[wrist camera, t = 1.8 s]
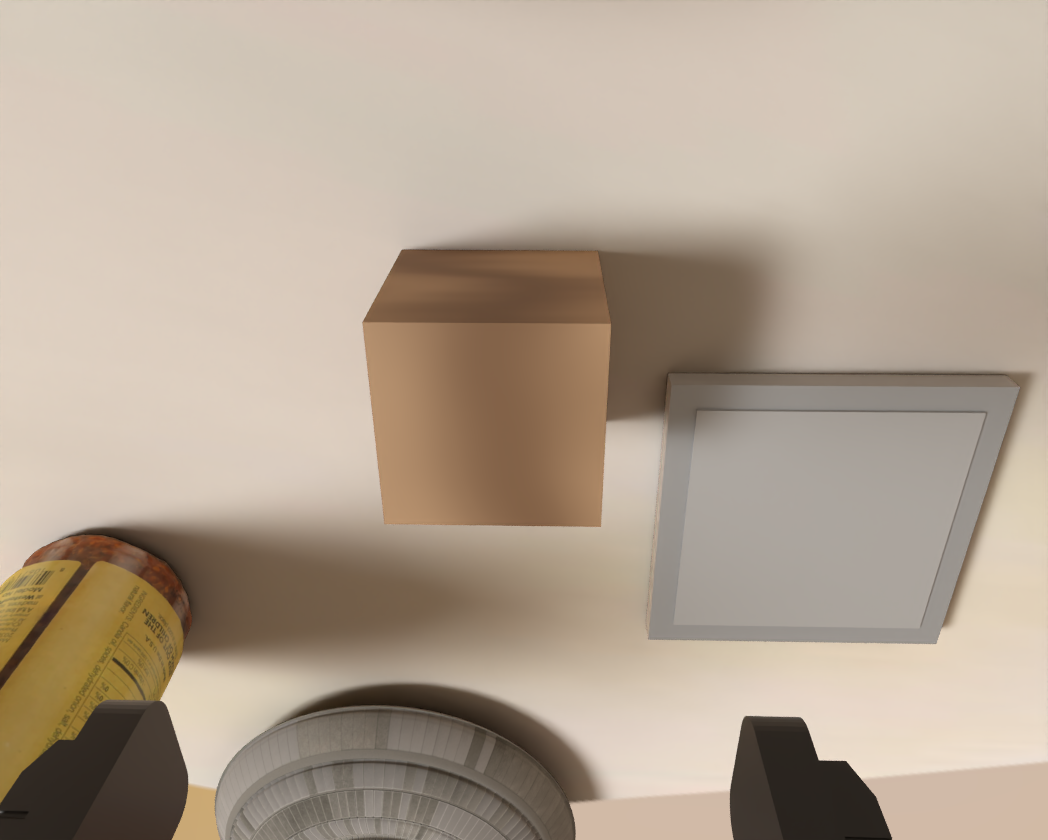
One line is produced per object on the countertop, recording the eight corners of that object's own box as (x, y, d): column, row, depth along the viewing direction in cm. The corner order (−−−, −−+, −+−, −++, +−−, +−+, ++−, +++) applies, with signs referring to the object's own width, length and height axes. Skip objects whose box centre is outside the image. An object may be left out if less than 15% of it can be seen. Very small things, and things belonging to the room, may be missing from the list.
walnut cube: (415, 420, 25) (384, 523, 20) (402, 249, 23) (362, 322, 18) (590, 421, 25) (600, 526, 20) (597, 249, 22) (611, 323, 18)
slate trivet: (645, 623, 29) (648, 641, 28) (668, 373, 24) (671, 386, 23) (926, 627, 29) (937, 646, 28) (1006, 375, 24) (1021, 389, 23)
